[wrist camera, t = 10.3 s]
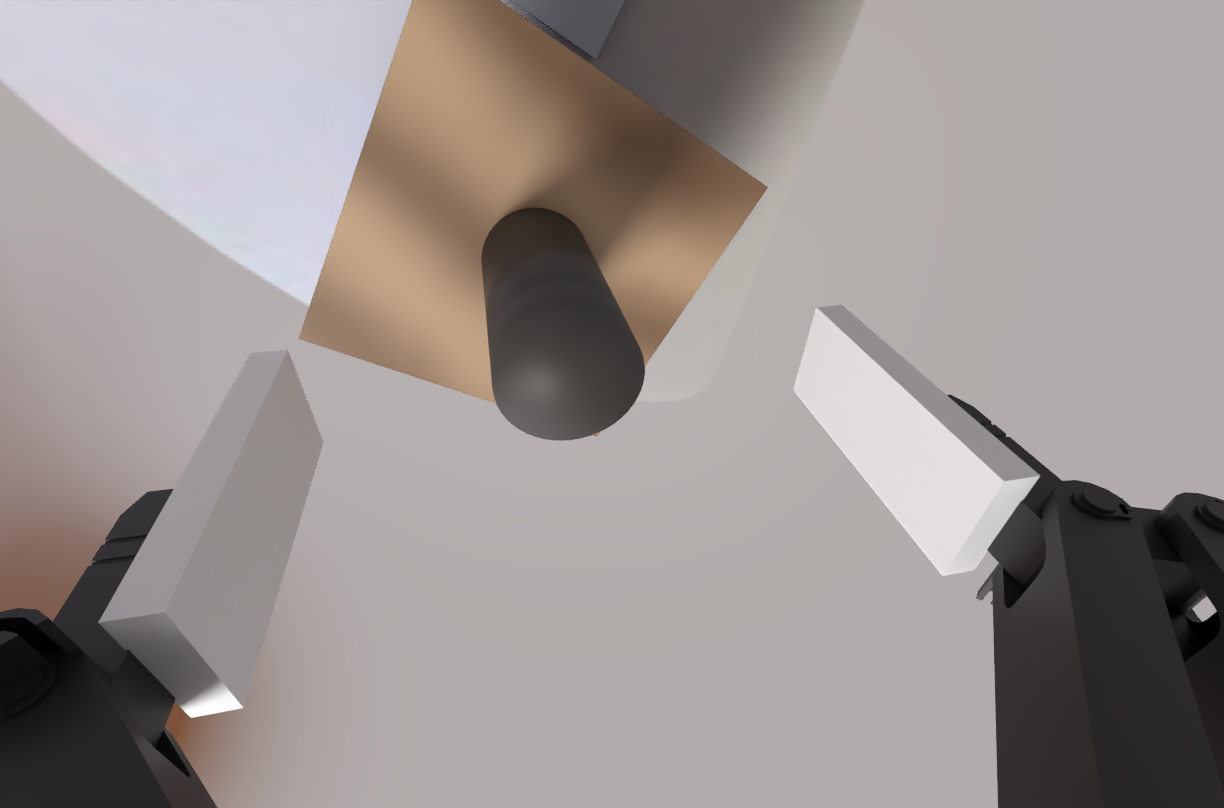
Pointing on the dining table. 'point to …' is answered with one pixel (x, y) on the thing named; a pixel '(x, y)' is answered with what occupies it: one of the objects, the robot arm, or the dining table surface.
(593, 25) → the mat
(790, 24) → the dining table surface
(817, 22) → the dining table surface
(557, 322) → the lid
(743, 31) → the dining table surface
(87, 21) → the dining table surface
